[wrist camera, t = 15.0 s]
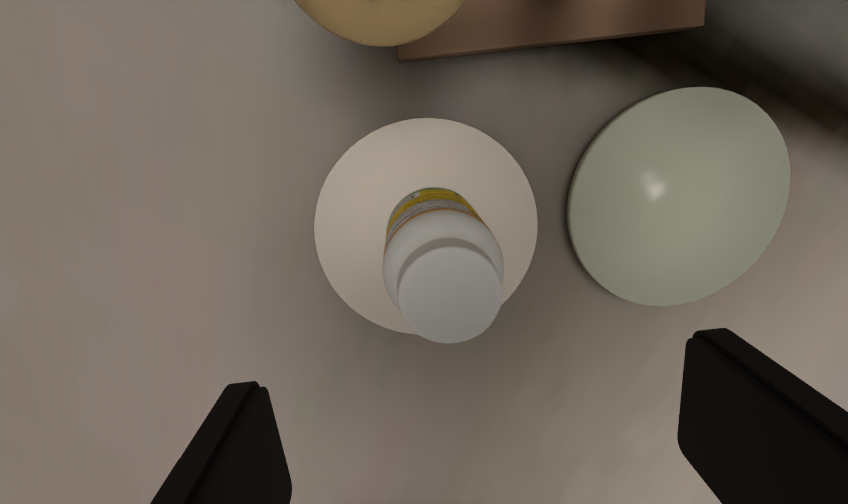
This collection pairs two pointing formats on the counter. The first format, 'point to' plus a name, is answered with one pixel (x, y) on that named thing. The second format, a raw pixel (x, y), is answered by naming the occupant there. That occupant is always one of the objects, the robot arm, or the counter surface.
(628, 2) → the brass balance
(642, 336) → the counter surface
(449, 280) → the supplement bottle
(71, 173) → the counter surface
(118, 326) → the counter surface
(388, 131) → the cream dish
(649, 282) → the pale green dish
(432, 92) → the counter surface
